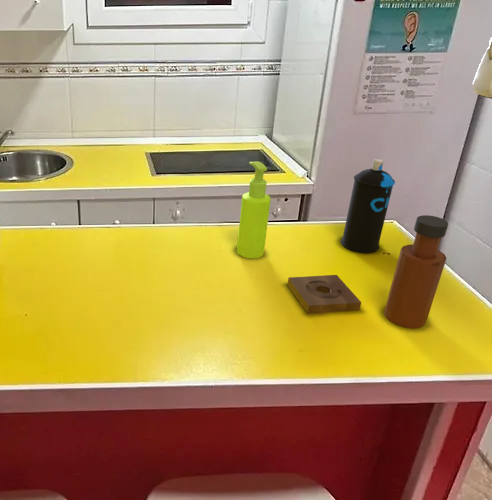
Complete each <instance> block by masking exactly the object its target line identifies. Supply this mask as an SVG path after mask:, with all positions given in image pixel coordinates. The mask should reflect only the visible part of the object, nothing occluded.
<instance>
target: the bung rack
mask: <svg viewBox="0 0 492 500" xmlns="http://www.w3.org/2000/svg"><path fill="white" fill-rule="evenodd" d="M286 286H287V287H288V289H289V290H290V292H291V293H292V294H293V296H294V297H295V298H296V300H297V301H298V303H299V304H300V306H301V307H302V309H303V310H304V311H305V313H306V314H307V315H312V314H326V313H341V312H342V313H343V312H357V311H360V310H361V306H362V301H361V300H360V299H359V297H357V296H356V294H355V293H354V292H353V291H352V290H351V289H350V288H349V287H348V286H347V284H346V283H345V282H344V281H343V280H342V279H341V277H340V276H339V275H338V274H328V275H327V274H325V275H310V276H309V275H308V276H293V277H292V276H291V277H288V278H287V284H286Z"/></svg>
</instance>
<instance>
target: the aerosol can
mask: <svg viewBox="0 0 492 500" xmlns="http://www.w3.org/2000/svg"><path fill="white" fill-rule="evenodd" d="M372 161H373V162H372V165H371V168H366V169H363V170H361V171H360V172H358V173H356V174H355V175H354V176H353V180H354V181H353V186H352V191H351V195H350V201H349V204H348V210H347V215H346V220H345V225H344V229H343V235H342V238H341V239H340V243H341V245H342V247H344V248H345V249H347V250H349V251H352V252H356V253H359V254H360V253H361V254H372V253H376V252H377V251H378V250H380V241H381V238H382V237H381V236H382V232H383V229H384V224H385V220H386V216H387V212H388V208H389V204H390V199H391V195H392V192H393V187H394V186H395V184H396V181H395V179H393V176H391V175H390V173H388V172H387V171H385V170H383V165H384V160H383V159H380V158H374V159H373V160H372Z"/></svg>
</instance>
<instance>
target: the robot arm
mask: <svg viewBox="0 0 492 500" xmlns="http://www.w3.org/2000/svg"><path fill="white" fill-rule="evenodd" d="M472 88H473V92H474V93H475V94H477V95H480V96H483V97H487V98H492V35H491V36H490V39H489V42H488V46H487V48H486V50H485V52H484V54H483V56H482V59H481V61H480V63H479V65H478V68H477V70H476V73H475V75H474V78H473V81H472Z"/></svg>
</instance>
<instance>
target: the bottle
mask: <svg viewBox="0 0 492 500" xmlns="http://www.w3.org/2000/svg"><path fill="white" fill-rule="evenodd" d="M441 240H442V237H441V238H431V237H426V236H423V235H420V234H418V233H416V232H415V237H414V241H413V244H406V245H403V246H402V247H401V248H400V251H399V255H398V258H397V263H396V266H395V270H394V274H393V278H392V280H391V281H392V282H391V285H390V288H389V292H388V295H387V300H386V303H385V307H384V312H383V313H384V316H385V318H386V319H387V320H388V321H389V322H390V323H392V324H394V325H396V326H398V327H402V328H405V329H421V328H423V327H425V326H426V323H427V321H428V319H429V314H430V313H431V308H432V306H433V302H434V299H435V296H436V293H437V289H438V287H439V284H440V281H441V277H442V274H443V272H444V271H443V270H444V269H445V264H446V262H447V259H448V258H447V256H446V254H445V253H443V252H442V251H441V250H440V249H439V247H440V244H441Z"/></svg>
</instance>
